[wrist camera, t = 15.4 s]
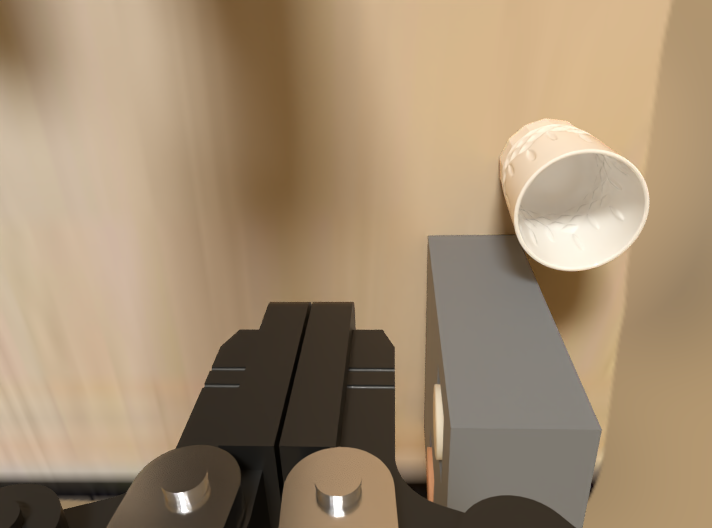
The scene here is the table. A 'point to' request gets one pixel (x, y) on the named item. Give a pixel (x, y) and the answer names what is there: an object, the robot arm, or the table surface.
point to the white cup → (571, 196)
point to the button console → (502, 382)
